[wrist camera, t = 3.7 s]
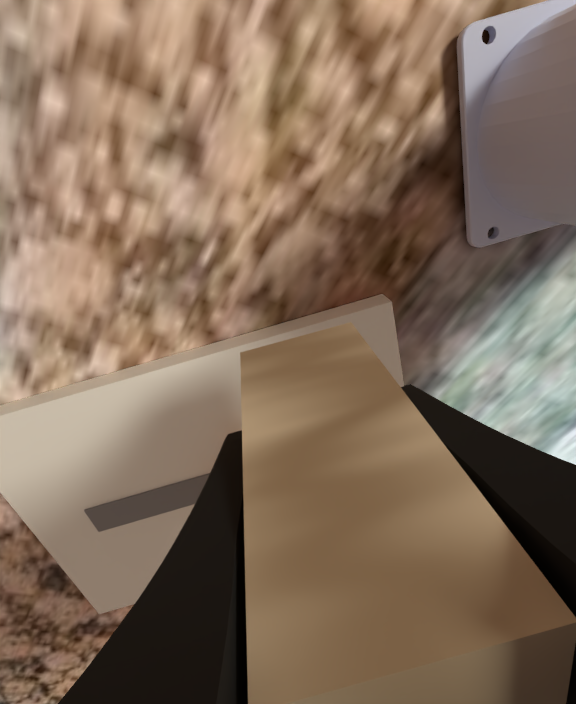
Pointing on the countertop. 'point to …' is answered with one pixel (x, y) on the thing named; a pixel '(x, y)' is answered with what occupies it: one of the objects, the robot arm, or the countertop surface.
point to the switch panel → (141, 451)
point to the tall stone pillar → (378, 548)
